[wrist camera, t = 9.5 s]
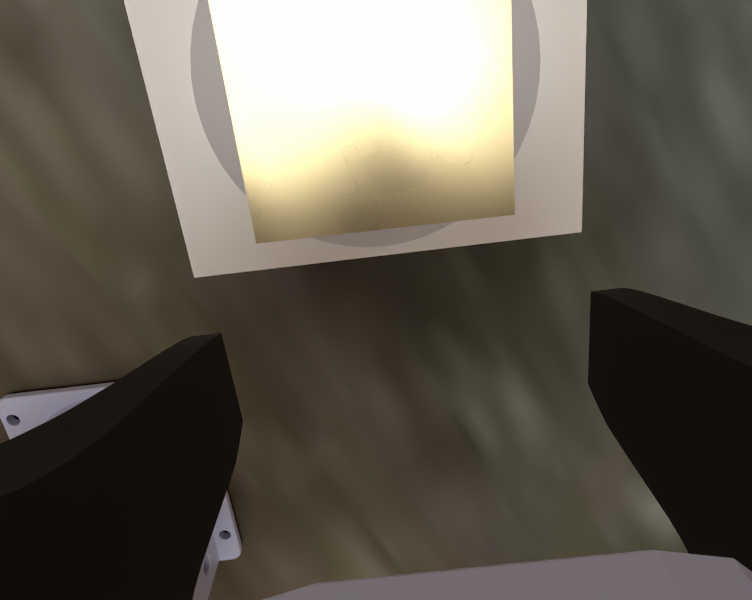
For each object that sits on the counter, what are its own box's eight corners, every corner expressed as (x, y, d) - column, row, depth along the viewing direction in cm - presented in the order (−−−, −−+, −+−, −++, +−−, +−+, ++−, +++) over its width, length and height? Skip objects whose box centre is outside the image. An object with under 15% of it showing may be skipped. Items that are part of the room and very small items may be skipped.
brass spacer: (458, 157, 18) (515, 214, 11) (294, 175, 18) (255, 243, 11) (447, -31, 16) (509, -93, 9) (264, -9, 16) (197, -55, 9)
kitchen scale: (562, 216, 21) (621, 263, 16) (208, 258, 21) (164, 316, 17) (567, -337, 15) (661, -518, 10) (81, -270, 16) (-43, -416, 11)
